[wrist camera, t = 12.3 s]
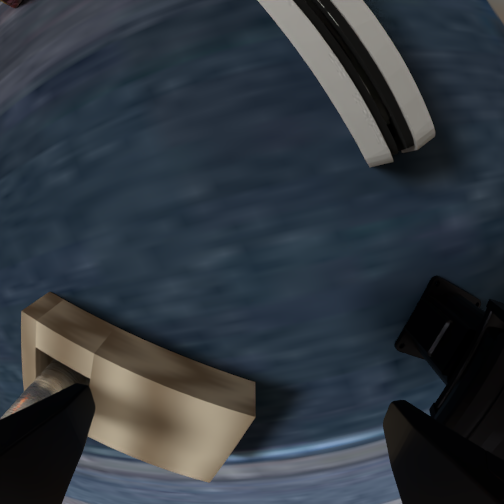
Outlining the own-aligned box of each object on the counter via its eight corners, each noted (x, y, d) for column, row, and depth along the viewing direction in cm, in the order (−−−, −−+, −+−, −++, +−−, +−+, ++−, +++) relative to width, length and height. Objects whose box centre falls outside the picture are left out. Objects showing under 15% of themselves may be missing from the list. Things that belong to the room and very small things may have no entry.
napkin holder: (424, 138, 18) (480, 153, 9) (368, 165, 20) (385, 199, 11) (297, -41, 14) (261, -115, 6) (246, -13, 17) (183, -73, 8)
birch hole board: (255, 382, 22) (255, 417, 19) (213, 451, 25) (209, 482, 21) (49, 291, 21) (21, 310, 17) (44, 376, 23) (25, 398, 19)
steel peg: (101, 353, 22) (24, 460, 10) (97, 381, 23) (31, 483, 11) (67, 335, 22) (-21, 427, 10) (64, 364, 23) (-10, 454, 10)
